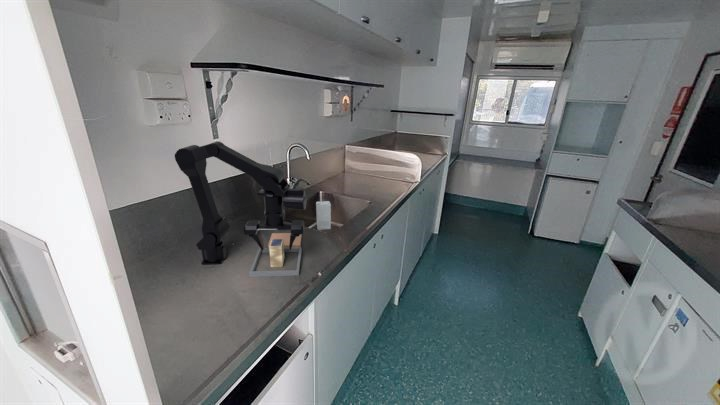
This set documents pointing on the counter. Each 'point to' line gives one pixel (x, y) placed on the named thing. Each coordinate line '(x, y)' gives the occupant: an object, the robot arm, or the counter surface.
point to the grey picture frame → (275, 273)
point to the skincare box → (323, 215)
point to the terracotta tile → (286, 239)
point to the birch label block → (276, 252)
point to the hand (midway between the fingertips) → (276, 249)
